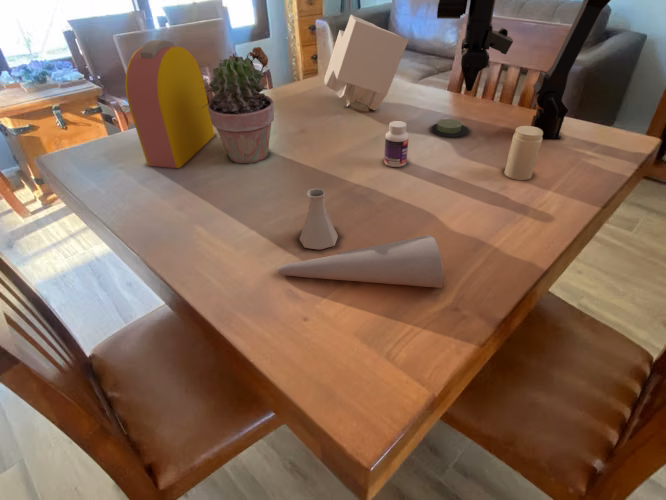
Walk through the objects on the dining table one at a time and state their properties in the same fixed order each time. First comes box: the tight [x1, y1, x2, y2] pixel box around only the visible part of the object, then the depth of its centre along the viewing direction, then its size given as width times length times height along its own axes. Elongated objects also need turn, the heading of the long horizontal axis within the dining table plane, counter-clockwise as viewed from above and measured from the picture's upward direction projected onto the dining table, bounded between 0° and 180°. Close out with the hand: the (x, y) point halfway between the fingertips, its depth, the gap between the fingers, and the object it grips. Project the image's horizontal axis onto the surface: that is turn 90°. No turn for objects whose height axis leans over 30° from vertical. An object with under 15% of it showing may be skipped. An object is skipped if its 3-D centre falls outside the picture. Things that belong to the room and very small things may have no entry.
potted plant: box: [200, 46, 275, 164], centre depth 101 cm, size 18×20×25 cm
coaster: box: [431, 123, 469, 139], centre depth 119 cm, size 10×10×1 cm
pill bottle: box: [383, 120, 410, 168], centre depth 101 cm, size 5×5×10 cm
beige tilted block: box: [323, 14, 409, 112], centre depth 130 cm, size 20×16×25 cm
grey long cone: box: [277, 234, 444, 289], centre depth 68 cm, size 8×9×26 cm
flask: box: [299, 187, 339, 250], centre depth 77 cm, size 7×7×10 cm
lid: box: [436, 118, 463, 134], centre depth 118 cm, size 7×7×2 cm
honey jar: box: [503, 125, 544, 181], centre depth 95 cm, size 6×6×10 cm
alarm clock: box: [124, 39, 215, 169], centre depth 105 cm, size 21×9×26 cm, turn 168°
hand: (468, 85), depth 112 cm, fingers open, 9 cm apart
